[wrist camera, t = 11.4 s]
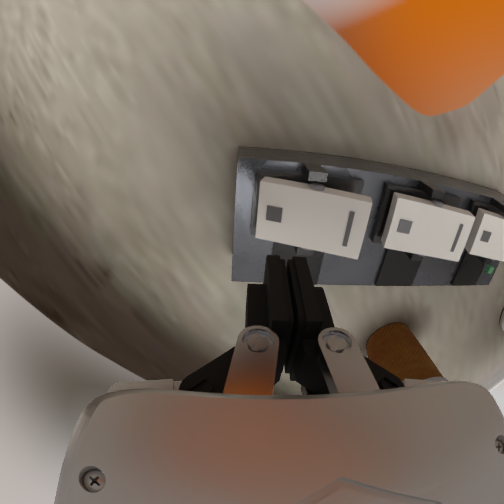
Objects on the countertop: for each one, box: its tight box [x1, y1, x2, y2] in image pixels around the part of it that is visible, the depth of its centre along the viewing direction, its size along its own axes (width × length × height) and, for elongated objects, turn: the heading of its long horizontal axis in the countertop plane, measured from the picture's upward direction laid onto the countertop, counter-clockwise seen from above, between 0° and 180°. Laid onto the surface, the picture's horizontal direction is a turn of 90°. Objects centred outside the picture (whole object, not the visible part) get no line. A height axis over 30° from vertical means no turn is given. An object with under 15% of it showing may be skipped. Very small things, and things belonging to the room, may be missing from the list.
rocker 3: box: [465, 208, 504, 262], centre depth 20 cm, size 7×4×1 cm, turn 86°
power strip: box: [232, 146, 504, 286], centre depth 23 cm, size 35×10×6 cm, turn 86°
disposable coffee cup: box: [366, 323, 448, 382], centre depth 30 cm, size 10×10×12 cm
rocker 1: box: [255, 177, 372, 260], centre depth 19 cm, size 7×4×1 cm, turn 86°
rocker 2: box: [381, 192, 475, 262], centre depth 19 cm, size 7×4×1 cm, turn 86°
